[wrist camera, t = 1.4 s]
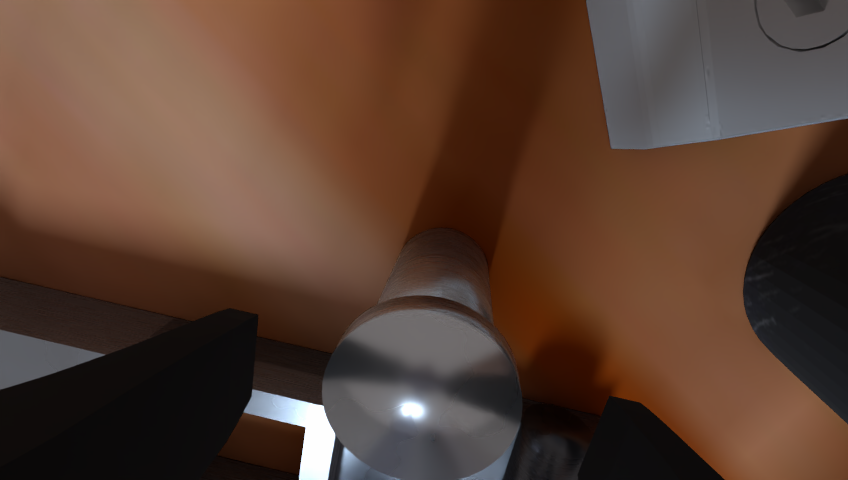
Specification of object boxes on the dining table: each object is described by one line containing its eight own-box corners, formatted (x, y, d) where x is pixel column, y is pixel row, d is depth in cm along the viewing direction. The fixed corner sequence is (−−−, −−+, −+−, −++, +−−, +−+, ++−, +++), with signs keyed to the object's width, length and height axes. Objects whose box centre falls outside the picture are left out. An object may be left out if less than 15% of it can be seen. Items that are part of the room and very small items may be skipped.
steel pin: (484, 333, 16) (494, 502, 9) (377, 309, 16) (311, 457, 9) (513, 230, 15) (547, 340, 8) (396, 205, 15) (335, 292, 8)
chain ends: (543, 558, 19) (557, 652, 16) (-24, 420, 20) (-119, 482, 17) (603, 409, 16) (635, 486, 13) (-51, 258, 17) (-171, 295, 14)
